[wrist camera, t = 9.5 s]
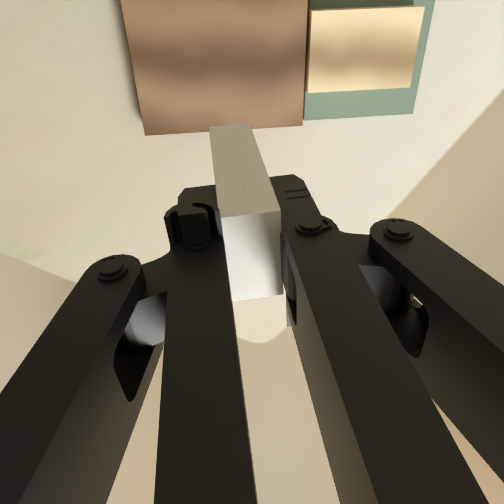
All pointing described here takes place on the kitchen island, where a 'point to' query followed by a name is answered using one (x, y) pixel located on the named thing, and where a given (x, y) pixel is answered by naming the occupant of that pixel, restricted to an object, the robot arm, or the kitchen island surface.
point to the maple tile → (361, 47)
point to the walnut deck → (217, 62)
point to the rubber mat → (376, 99)
